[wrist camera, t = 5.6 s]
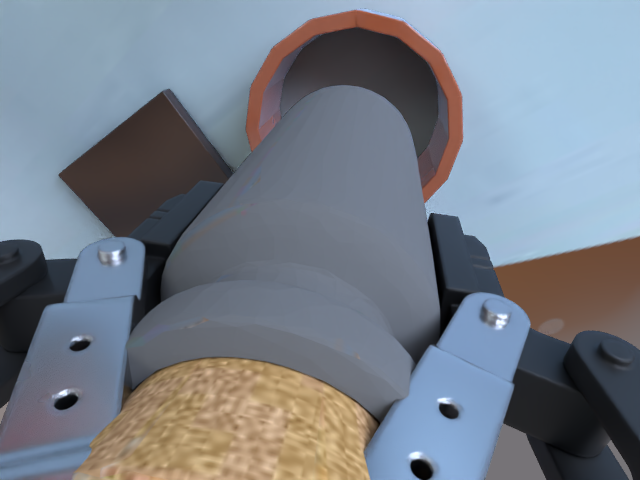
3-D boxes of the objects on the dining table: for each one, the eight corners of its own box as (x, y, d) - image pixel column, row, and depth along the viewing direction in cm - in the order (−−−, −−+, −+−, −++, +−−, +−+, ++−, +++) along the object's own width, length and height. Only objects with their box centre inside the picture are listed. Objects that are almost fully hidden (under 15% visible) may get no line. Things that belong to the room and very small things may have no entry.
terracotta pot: (235, 81, 26) (205, 97, 21) (394, -37, 22) (396, -46, 17) (329, 220, 30) (319, 257, 25) (480, 142, 25) (498, 171, 21)
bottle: (326, 238, 20) (206, 698, 7) (248, 135, 18) (-131, 515, 5) (440, 177, 17) (585, 701, 4) (366, 50, 15) (242, 346, 2)
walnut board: (66, 170, 31) (57, 174, 30) (169, 88, 27) (162, 91, 26) (166, 278, 35) (160, 285, 34) (269, 222, 30) (266, 228, 30)
